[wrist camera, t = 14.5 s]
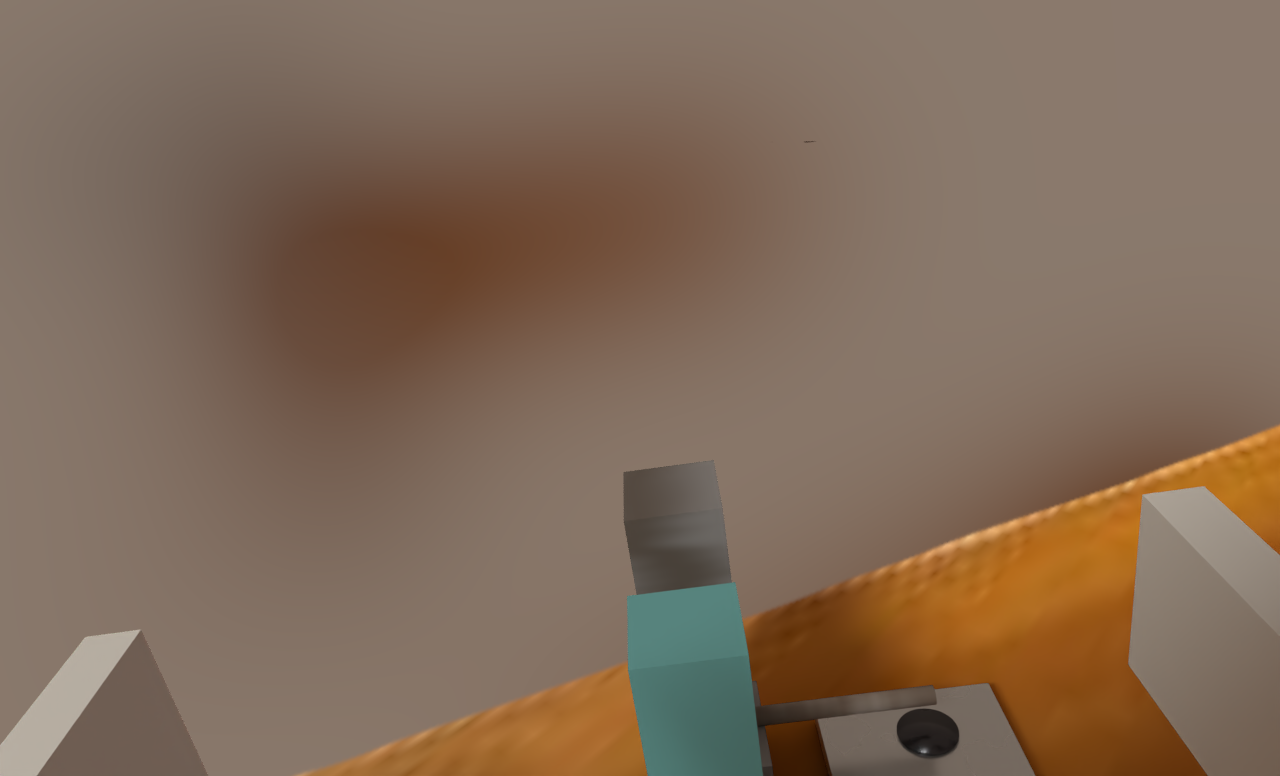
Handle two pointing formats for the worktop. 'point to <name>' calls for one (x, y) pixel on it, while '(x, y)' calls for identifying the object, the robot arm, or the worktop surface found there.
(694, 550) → the grey l-shaped piece
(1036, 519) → the worktop surface
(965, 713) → the plate
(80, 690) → the robot arm
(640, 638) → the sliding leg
